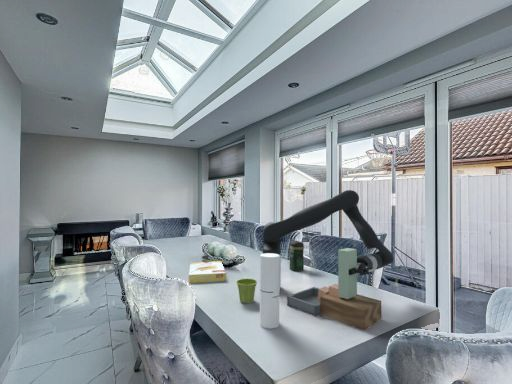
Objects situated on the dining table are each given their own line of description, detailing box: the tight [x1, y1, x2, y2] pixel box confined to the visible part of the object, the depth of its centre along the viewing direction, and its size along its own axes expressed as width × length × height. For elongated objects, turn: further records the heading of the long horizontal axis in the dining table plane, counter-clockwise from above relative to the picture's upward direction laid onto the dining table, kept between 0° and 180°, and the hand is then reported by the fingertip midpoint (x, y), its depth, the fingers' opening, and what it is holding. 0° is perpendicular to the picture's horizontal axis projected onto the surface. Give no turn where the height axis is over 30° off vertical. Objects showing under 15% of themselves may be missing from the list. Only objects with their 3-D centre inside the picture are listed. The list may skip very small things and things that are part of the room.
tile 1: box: [317, 286, 329, 302], centre depth 117 cm, size 5×5×4 cm
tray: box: [286, 286, 321, 317], centre depth 121 cm, size 19×15×4 cm
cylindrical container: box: [259, 253, 281, 329], centre depth 102 cm, size 7×7×25 cm
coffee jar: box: [289, 240, 305, 272], centre depth 180 cm, size 10×8×19 cm
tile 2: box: [328, 283, 342, 298], centre depth 113 cm, size 5×5×4 cm
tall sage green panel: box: [337, 247, 358, 299], centre depth 110 cm, size 7×4×18 cm, turn 133°
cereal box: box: [188, 261, 227, 284], centre depth 166 cm, size 20×6×28 cm
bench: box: [319, 293, 382, 332], centre depth 109 cm, size 14×18×7 cm
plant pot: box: [235, 278, 258, 304], centre depth 125 cm, size 9×9×9 cm
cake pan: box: [200, 254, 212, 262], centre depth 198 cm, size 25×25×4 cm
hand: (344, 271), depth 108 cm, fingers closed on tall sage green panel, 4 cm apart
